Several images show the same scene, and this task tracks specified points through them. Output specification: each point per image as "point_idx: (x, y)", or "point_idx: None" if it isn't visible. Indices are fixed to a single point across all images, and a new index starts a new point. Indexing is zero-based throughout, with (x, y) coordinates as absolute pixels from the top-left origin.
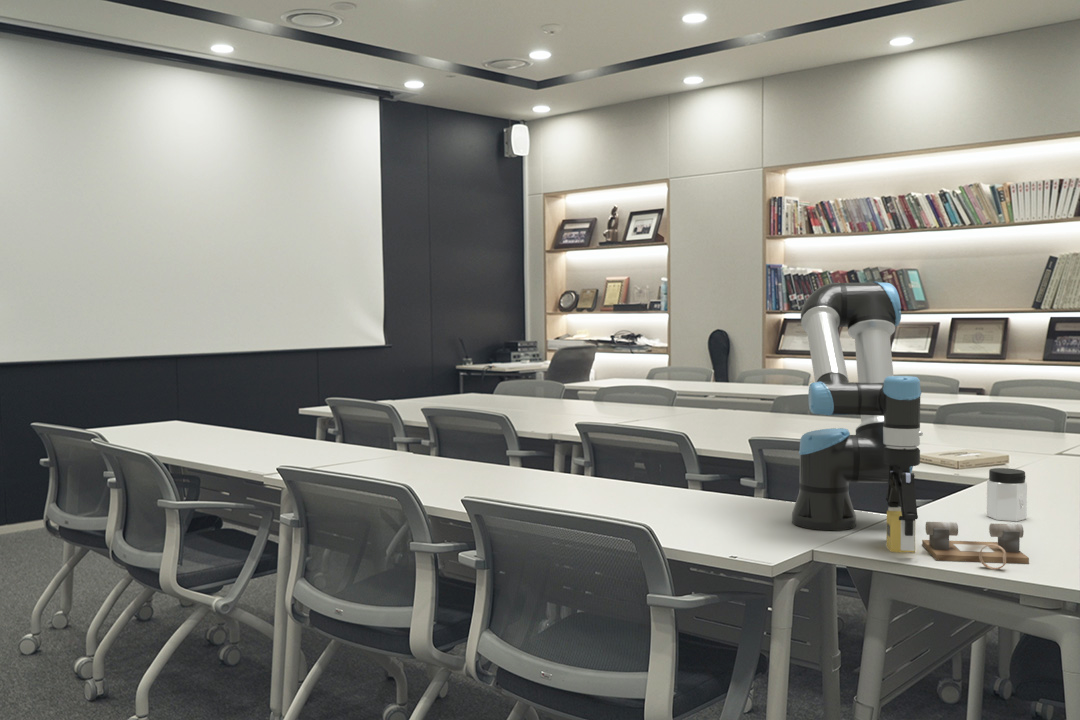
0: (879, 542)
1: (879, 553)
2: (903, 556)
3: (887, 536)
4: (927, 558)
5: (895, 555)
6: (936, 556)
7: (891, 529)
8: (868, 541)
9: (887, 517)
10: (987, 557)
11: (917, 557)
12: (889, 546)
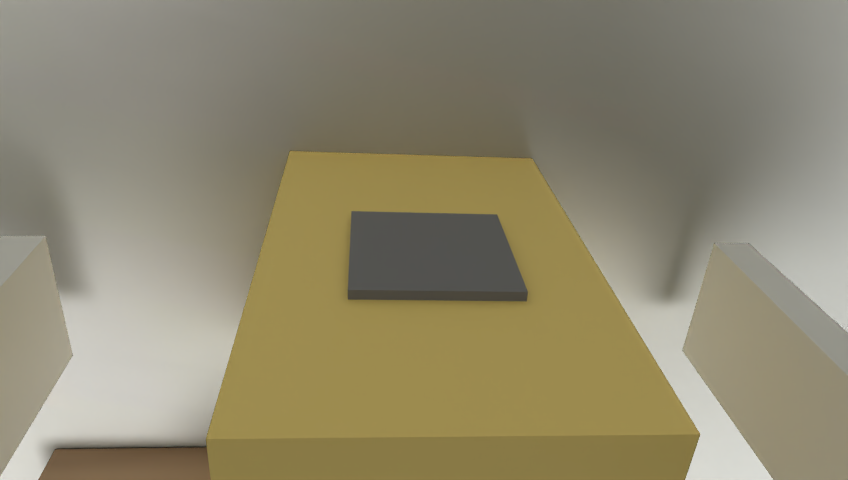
0: (693, 122)
1: (193, 9)
2: (123, 231)
3: (502, 207)
4: (110, 402)
5: (144, 165)
6: (44, 474)
7: (252, 283)
8: (753, 9)
9: (583, 356)
10: None
11: (122, 338)
12: (369, 168)
